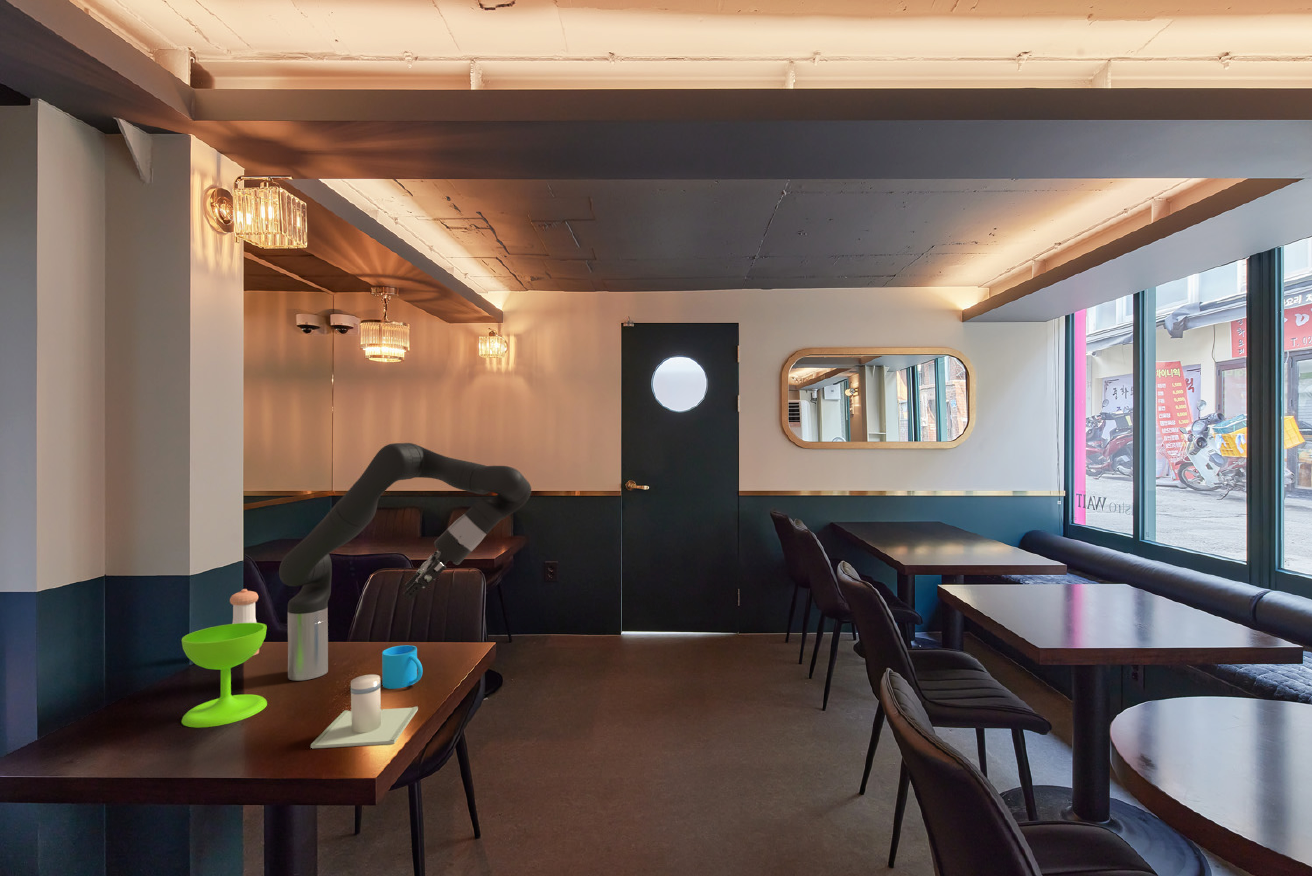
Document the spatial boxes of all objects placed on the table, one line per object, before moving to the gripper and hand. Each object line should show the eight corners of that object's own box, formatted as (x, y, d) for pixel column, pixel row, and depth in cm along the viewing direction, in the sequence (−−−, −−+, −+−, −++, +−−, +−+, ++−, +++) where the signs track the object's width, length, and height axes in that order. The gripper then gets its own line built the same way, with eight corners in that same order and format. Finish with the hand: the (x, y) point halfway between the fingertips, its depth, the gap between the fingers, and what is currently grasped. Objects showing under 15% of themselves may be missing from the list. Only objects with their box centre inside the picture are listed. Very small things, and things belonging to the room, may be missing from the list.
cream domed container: (353, 723, 130) (352, 676, 130) (382, 719, 132) (381, 672, 132) (349, 735, 125) (348, 687, 125) (379, 730, 127) (378, 682, 127)
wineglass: (219, 697, 148) (219, 622, 148) (282, 697, 147) (282, 622, 147) (162, 727, 132) (162, 643, 132) (233, 728, 131) (232, 643, 131)
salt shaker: (222, 658, 176) (222, 591, 177) (243, 650, 183) (243, 586, 184) (244, 659, 175) (244, 592, 176) (265, 651, 182) (264, 586, 183)
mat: (344, 714, 137) (344, 710, 137) (417, 710, 138) (417, 706, 138) (310, 748, 121) (310, 744, 121) (394, 743, 122) (394, 739, 122)
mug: (375, 685, 154) (375, 653, 154) (402, 674, 161) (402, 643, 161) (408, 693, 148) (408, 660, 148) (434, 682, 155) (434, 649, 156)
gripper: (447, 524, 145) (395, 576, 141) (449, 531, 132) (391, 589, 128) (470, 545, 147) (419, 597, 143) (474, 554, 134) (418, 612, 129)
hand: (406, 593), depth 135 cm, fingers open, 8 cm apart
